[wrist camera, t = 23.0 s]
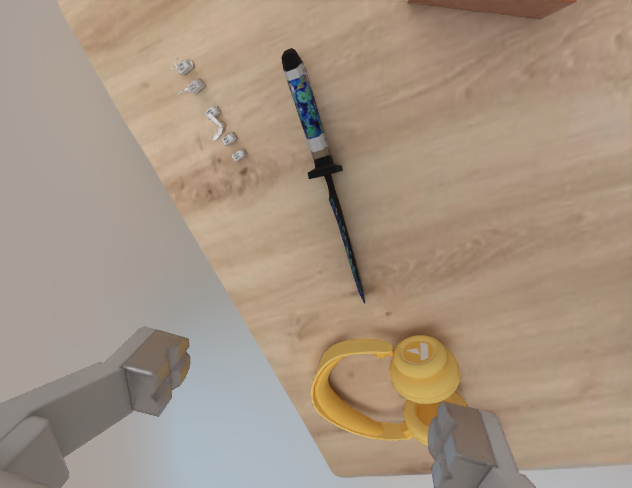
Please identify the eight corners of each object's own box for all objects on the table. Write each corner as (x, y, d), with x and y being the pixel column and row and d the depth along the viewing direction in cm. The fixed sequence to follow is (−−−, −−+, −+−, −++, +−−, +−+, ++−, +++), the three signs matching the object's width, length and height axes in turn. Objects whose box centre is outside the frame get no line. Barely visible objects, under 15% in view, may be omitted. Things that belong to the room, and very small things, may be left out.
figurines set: (249, 153, 37) (239, 158, 34) (231, 165, 38) (220, 170, 35) (187, 52, 33) (171, 49, 31) (169, 68, 34) (152, 65, 32)
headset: (299, 339, 48) (285, 389, 40) (442, 312, 42) (461, 365, 34) (336, 417, 54) (331, 474, 46) (465, 403, 48) (485, 465, 40)
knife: (287, 52, 31) (274, 52, 27) (316, 43, 30) (307, 41, 26) (347, 292, 45) (344, 314, 41) (368, 290, 44) (367, 312, 41)
